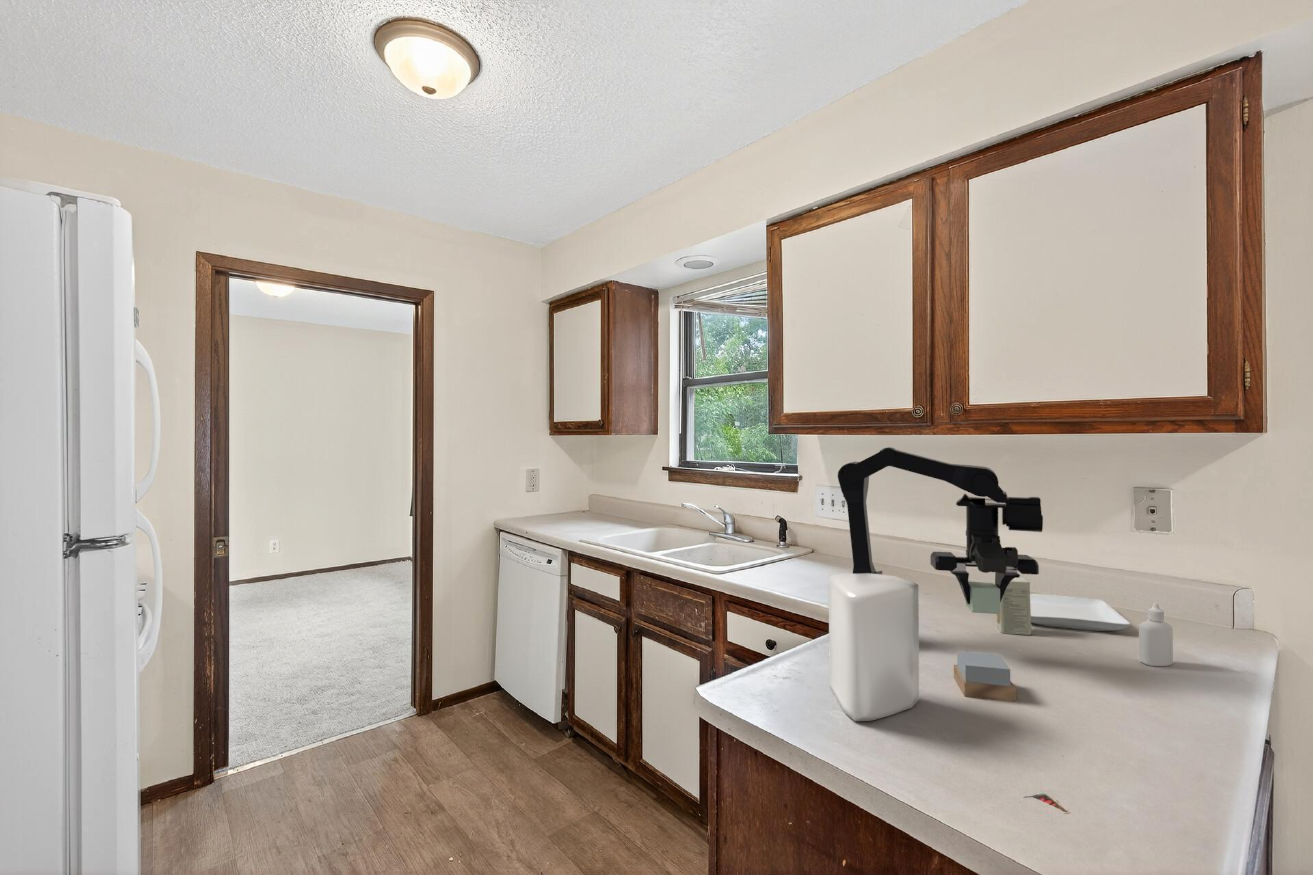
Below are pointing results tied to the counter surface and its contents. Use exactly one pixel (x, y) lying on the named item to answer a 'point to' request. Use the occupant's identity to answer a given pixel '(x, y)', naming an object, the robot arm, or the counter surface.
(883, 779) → the counter surface
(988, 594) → the stack block
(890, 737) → the counter surface
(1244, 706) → the counter surface
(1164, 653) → the eye dropper bottle
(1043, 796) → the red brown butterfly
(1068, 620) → the salad plate
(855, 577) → the white triangular prism
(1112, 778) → the counter surface
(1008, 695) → the tower base
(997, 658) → the blue-grey square block
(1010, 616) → the skincare box
